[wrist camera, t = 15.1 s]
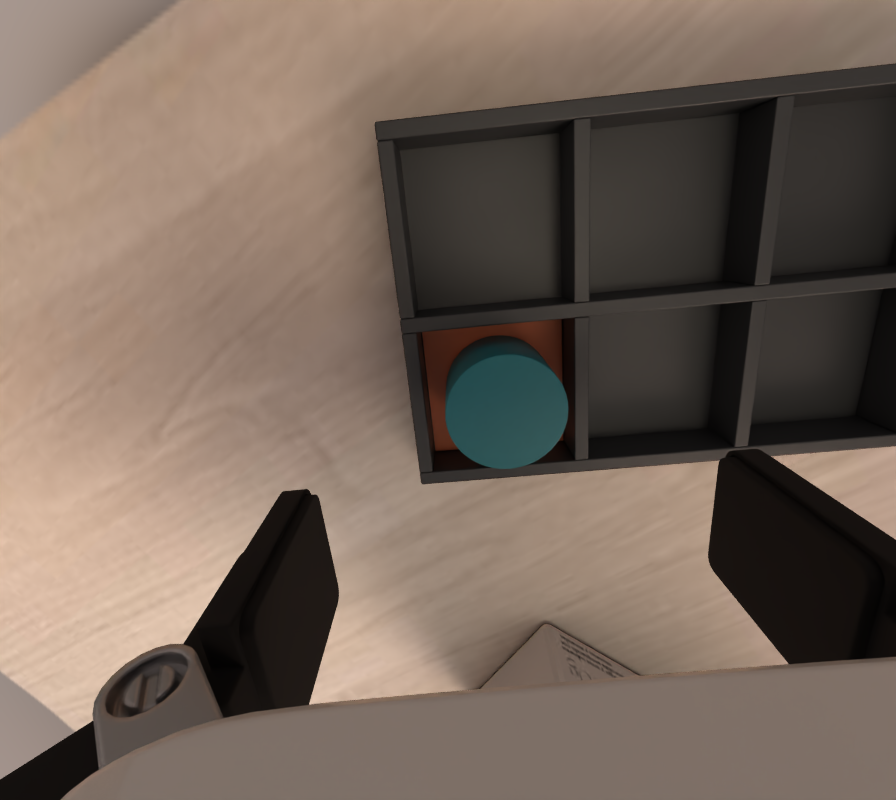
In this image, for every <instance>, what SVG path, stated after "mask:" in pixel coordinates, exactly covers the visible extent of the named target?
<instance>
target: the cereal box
mask: <svg viewBox="0 0 896 800" xmlns="http://www.w3.org/2000/svg"><path fill="white" fill-rule="evenodd" d="M630 676H639V675H637V674H635V673H633V672H632V671H630V670H628V669H626V668H625V667H623V666H621V665H619V664H618V663H616V662H614V661H612V660H611V659H609V658H607V657H605V656H604V655H602V654H600V653H598V652H597V651H595V650H593V649H591V648H590V647H588V646H586V645H584V644H583V643H581V642H579V641H578V640H576V639H574V638H572V637H571V636H569V635H567V634H565V633H564V632H562V631H560V630H558V629H557V628H555V627H553V626H551V625H550V624H544V625H543V626H542V627H541V628H540V629H539V630H538V631H537V632H536V633H535V634H534V635H533V636H532V637H531V638H530V639H529V640H528V641H527V642H526V643H525V644H524V645H523V646H522V647H521V648H520V649H519V650H518V651H517V652H516V653H515V654H514V655H513V656H512V657H511V658H510V659H509V660H508V661H507V662H506V663H505V664H504V665H503V666H502V667H501V668H500V669H499V670H498V671H497V672H496V673H495V674H494V675H493V676H492V677H491V678H490V679H489V680H488V681H487V682H486V683H485V685H484V686H483V687H482V688H481V689H485V688H497V687H508V686H520V685H532V684H544V683H556V682H568V681H581V680H593V679H605V678H618V677H630Z"/></svg>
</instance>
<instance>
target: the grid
mask: <svg viewBox="0 0 896 800" xmlns="http://www.w3.org/2000/svg"><path fill="white" fill-rule="evenodd" d="M375 131H376V139H377V141H378V142H377V146H378V154H379V162H380V169H381V177H382V185H383V193H384V200H385V208H386V216H387V223H388V231H389V239H390V246H391V254H392V262H393V269H394V277H395V285H396V292H397V300H398V308H399V316H400V318H401V320H400V323H401V331H402V333H403V334H402V339H403V346H404V354H405V362H406V369H407V377H408V385H409V392H410V400H411V408H412V415H413V423H414V431H415V438H416V446H417V454H418V462H419V469H420V477H421V483H422V484H432V483H444V482H457V481H469V480H481V479H494V478H506V477H519V476H531V475H544V474H556V473H568V472H581V471H593V470H606V469H618V468H631V467H643V466H655V465H668V464H680V463H693V462H705V461H717V460H721V459H722V458H725V456H726V455H727V453H728V452H729V451H734V450H745V449H759V450H762V451H763V452H765V453H766V454H768V455H769V456H780V455H792V454H804V453H817V452H829V451H842V450H854V449H866V448H879V447H891V446H896V63H895V64H886V65H877V66H868V67H860V68H851V69H842V70H833V71H824V72H815V73H806V74H797V75H788V76H779V77H770V78H761V79H752V80H744V81H735V82H726V83H717V84H708V85H699V86H690V87H681V88H672V89H663V90H654V91H645V92H636V93H628V94H619V95H610V96H601V97H592V98H583V99H574V100H565V101H556V102H547V103H538V104H529V105H520V106H512V107H503V108H494V109H485V110H476V111H467V112H458V113H449V114H440V115H431V116H422V117H413V118H404V119H396V120H387V121H378V122H375ZM495 335H504V336H511V337H515V338H518V339H521V340H523V341H525V342H526V343H528V344H530V345H531V346H532V347H534V348H535V349H536V350H537V351H538V352H539V354H540V355H541V356H542V357H543V359H544V360H545V361H546V363H547V364H548V365H549V367H550V368H551V369H552V370H553V372H554V373H555V374H556V376H557V377H558V378H559V380H560V381H561V383H562V385H563V387H564V389H565V392H566V395H567V400H568V419H567V423H566V426H565V429H564V432H563V434H562V436H561V438H560V439H559V441H558V442H557V443H556V445H555V446H554V447H553V448H552V449H551V450H550V451H549V452H548V453H547V454H546V455H544V456H543V457H542V458H540V459H539V460H537V461H535V462H533V463H531V464H528V465H526V466H522V467H518V468H512V469H497V468H491V467H487V466H484V465H481V464H479V463H477V462H475V461H473V460H471V459H470V458H468V457H467V456H465V455H464V454H463V453H462V452H461V451H460V450H459V449H458V448H457V447H456V445H455V444H454V442H453V441H452V439H451V437H450V435H449V432H448V429H447V426H446V420H445V400H446V381H447V375H448V372H449V369H450V367H451V364H452V363H453V361H454V359H455V358H456V357H457V355H458V354H459V353H460V352H461V351H462V350H463V349H464V348H465V347H467V346H468V345H469V344H471V343H473V342H475V341H477V340H479V339H481V338H485V337H489V336H495Z"/></svg>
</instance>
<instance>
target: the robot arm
mask: <svg viewBox="0 0 896 800" xmlns="http://www.w3.org/2000/svg"><path fill="white" fill-rule="evenodd" d="M708 558H709V563H710V566H711V568H712V570H713V571H714V572H715V574H716V575H717V576H718V577H719V579H720V580H721V581H722V582H723V583H724V585H725V586H726V587H727V588H728V590H729V591H730V592H731V593H732V595H733V596H734V597H735V598H736V599H737V601H738V602H739V603H740V604H741V606H742V607H743V608H744V609H745V611H746V612H747V613H748V614H749V615H750V617H751V618H752V619H753V620H754V622H755V623H756V624H757V625H758V627H759V628H760V629H761V630H762V631H763V633H764V634H765V635H766V636H767V638H768V639H769V640H770V641H771V643H772V644H773V645H774V646H775V647H776V649H777V650H778V651H779V652H780V654H781V655H782V656H783V657H784V658H785V660H786V661H787V662H788V663H789V664H787V665H773V666H760V667H746V668H733V669H720V670H706V671H693V672H680V673H668V674H655V675H643V676H630V677H618V678H605V679H593V680H581V681H568V682H556V683H544V684H532V685H520V686H508V687H497V688H485V689H474V690H462V691H451V692H439V693H428V694H416V695H405V696H393V697H382V698H371V699H361V700H350V701H339V702H329V703H320V704H312V705H309V702H310V699H311V695H312V692H313V688H314V685H315V681H316V678H317V674H318V671H319V667H320V664H321V660H322V657H323V653H324V650H325V646H326V643H327V639H328V636H329V632H330V629H331V625H332V622H333V618H334V615H335V611H336V608H337V604H338V598H339V588H338V583H337V578H336V573H335V569H334V564H333V560H332V555H331V551H330V546H329V542H328V537H327V532H326V528H325V523H324V519H323V514H322V510H321V505H320V501H319V498H318V496H317V495H311V493H310V491H309V490H308V489H304V490H293V491H283V492H282V493H281V494H280V496H279V497H278V499H277V500H276V502H275V504H274V505H273V507H272V508H271V510H270V511H269V513H268V515H267V516H266V518H265V519H264V521H263V523H262V524H261V526H260V527H259V529H258V530H257V532H256V534H255V535H254V537H253V538H252V540H251V542H250V543H249V545H248V546H247V548H246V549H245V551H244V552H243V553H242V554H241V555H240V556H239V558H238V559H237V561H236V562H235V564H234V565H233V567H232V569H231V570H230V572H229V573H228V575H227V576H226V578H225V579H224V581H223V583H222V584H221V586H220V587H219V589H218V590H217V592H216V594H215V595H214V597H213V598H212V600H211V601H210V603H209V605H208V606H207V608H206V609H205V611H204V612H203V614H202V616H201V617H200V619H199V620H198V622H197V623H196V625H195V627H194V628H193V630H192V631H191V633H190V634H189V636H188V638H187V639H186V641H185V642H184V644H169V645H165V646H161V647H157V648H154V649H152V650H150V651H148V652H145V653H143V654H141V655H139V656H138V657H136V658H135V659H133V660H131V661H130V662H128V663H127V664H125V665H124V666H123V667H122V668H121V669H119V670H118V671H117V672H116V673H115V674H114V675H112V677H111V678H110V679H109V680H108V681H107V682H106V684H105V685H104V686H103V687H102V688H101V690H100V692H99V694H98V696H97V698H96V700H95V702H94V708H93V721H92V722H90V723H89V724H87V725H86V726H84V727H83V728H81V729H79V730H78V731H76V732H75V733H73V734H72V735H70V736H68V737H67V738H65V739H64V740H62V741H60V742H59V743H57V744H56V745H54V746H53V747H51V748H49V749H48V750H47V751H45V752H43V753H41V754H40V755H38V756H37V757H35V758H34V759H32V760H31V761H29V762H27V763H26V764H24V765H23V766H21V767H19V768H18V769H16V770H15V771H13V772H12V773H10V774H8V775H7V776H5V777H4V778H2V779H0V800H896V540H895V539H894V538H892V537H891V536H889V535H888V534H886V533H885V532H883V531H882V530H880V529H879V528H877V527H876V526H874V525H873V524H871V523H870V522H868V521H867V520H865V519H864V518H862V517H861V516H859V515H858V514H856V513H855V512H853V511H852V510H850V509H849V508H847V507H846V506H844V505H843V504H841V503H840V502H838V501H837V500H835V499H834V498H832V497H831V496H829V495H828V494H826V493H825V492H823V491H822V490H820V489H819V488H817V487H816V486H814V485H813V484H811V483H810V482H808V481H807V480H805V479H804V478H802V477H801V476H799V475H798V474H796V473H795V472H793V471H792V470H790V469H789V468H787V467H786V466H784V465H783V464H781V463H780V462H778V461H777V460H775V459H774V458H772V457H771V456H769V455H768V454H766V453H765V452H763V451H762V450H759V449H745V450H734V451H729V452H728V453H727V455H726V456H725V458H722V459H721V460H720V461H719V465H718V474H717V482H716V491H715V500H714V508H713V517H712V525H711V534H710V543H709V551H708Z"/></svg>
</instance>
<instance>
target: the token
mask: <svg viewBox="0 0 896 800" xmlns="http://www.w3.org/2000/svg"><path fill="white" fill-rule="evenodd" d="M567 419H568V400H567V395H566V392H565V389H564V387H563V385H562V383H561V381H560V380H559V378H558V377H557V376H556V374H555V373H554V372H553V370H552V369H551V368H550V367H549V365H548V364H547V363H546V361H545V360H544V359H543V357H542V356H541V355H540V354H539V352H538V351H537V350H536V349H535V348H534V347H532V346H531V345H530V344H528V343H526V342H525V341H523V340H521V339H518V338H515V337H511V336H504V335H495V336H489V337H485V338H481V339H479V340H477V341H475V342H473V343H471V344H469V345H468V346H467V347H465V348H464V349H463V350H462V351H461V352H460V353H459V354H458V355H457V357H456V358H455V359H454V361H453V363H452V364H451V367H450V369H449V372H448V375H447V381H446V400H445V420H446V426H447V429H448V432H449V435H450V437H451V439H452V441H453V442H454V444H455V445H456V447H457V448H458V449H459V450H460V451H461V452H462V453H463V454H464V455H465V456H467V457H468V458H470V459H471V460H473V461H475V462H477V463H479V464H481V465H484V466H487V467H491V468H497V469H512V468H518V467H522V466H526V465H528V464H531V463H533V462H535V461H537V460H539V459H540V458H542V457H543V456H544V455H546V454H547V453H548V452H549V451H550V450H551V449H552V448H553V447H554V446H555V445H556V443H557V442H558V441H559V439H560V438H561V436H562V434H563V432H564V429H565V426H566V423H567Z"/></svg>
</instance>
